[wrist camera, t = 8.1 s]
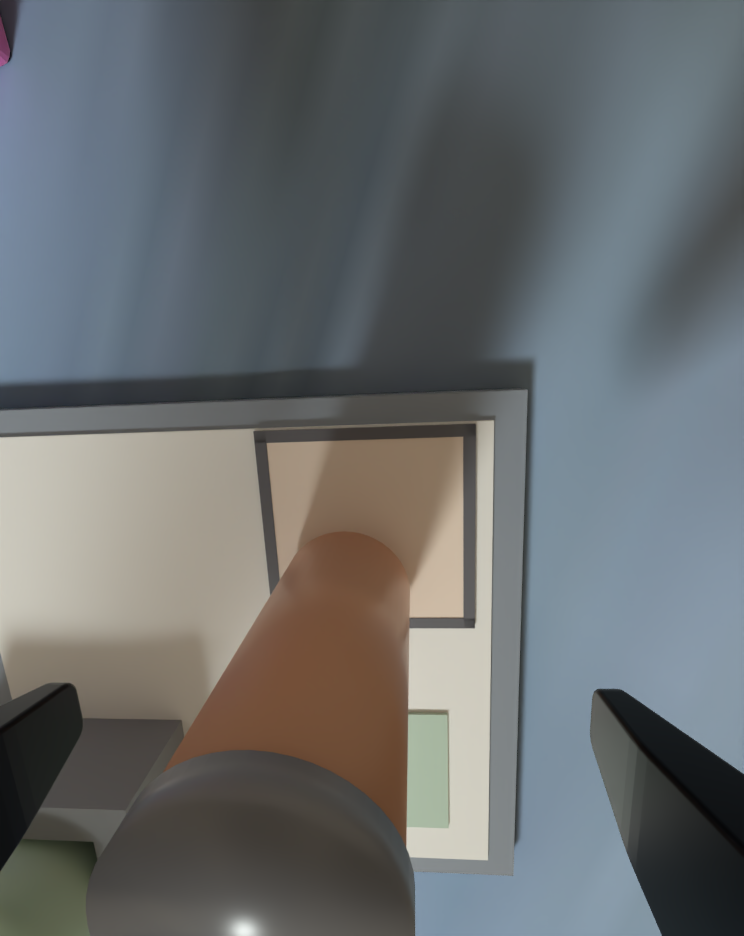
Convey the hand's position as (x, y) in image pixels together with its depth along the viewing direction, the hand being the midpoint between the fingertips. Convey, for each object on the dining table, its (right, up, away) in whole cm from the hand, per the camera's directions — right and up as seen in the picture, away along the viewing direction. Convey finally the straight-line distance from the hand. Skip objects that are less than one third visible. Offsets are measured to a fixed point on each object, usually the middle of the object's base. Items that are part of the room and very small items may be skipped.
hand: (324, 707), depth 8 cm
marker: (0, +1, +4) cm, 5 cm away
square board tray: (-3, -1, +6) cm, 7 cm away
